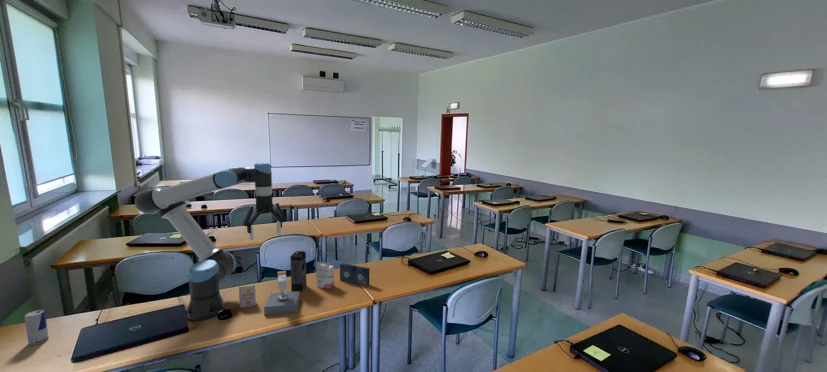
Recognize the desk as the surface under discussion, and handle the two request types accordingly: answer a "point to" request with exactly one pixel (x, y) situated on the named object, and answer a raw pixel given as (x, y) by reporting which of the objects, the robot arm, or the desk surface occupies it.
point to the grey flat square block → (282, 303)
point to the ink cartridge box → (325, 275)
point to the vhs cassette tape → (354, 274)
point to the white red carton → (247, 296)
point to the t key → (282, 285)
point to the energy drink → (36, 327)
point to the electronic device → (298, 271)
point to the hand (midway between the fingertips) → (265, 236)
